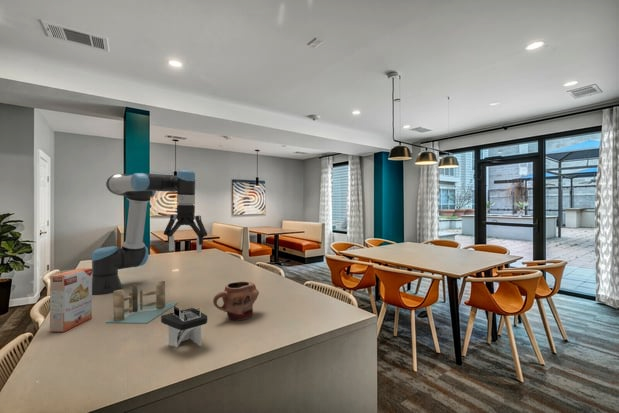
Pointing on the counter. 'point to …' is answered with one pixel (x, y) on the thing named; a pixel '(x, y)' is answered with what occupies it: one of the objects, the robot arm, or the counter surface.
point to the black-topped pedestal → (184, 325)
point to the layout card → (143, 314)
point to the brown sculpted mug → (238, 300)
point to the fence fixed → (119, 302)
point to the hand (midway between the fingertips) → (185, 251)
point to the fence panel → (159, 296)
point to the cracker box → (70, 299)
